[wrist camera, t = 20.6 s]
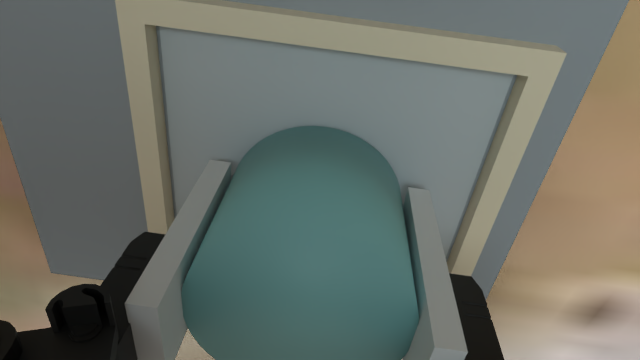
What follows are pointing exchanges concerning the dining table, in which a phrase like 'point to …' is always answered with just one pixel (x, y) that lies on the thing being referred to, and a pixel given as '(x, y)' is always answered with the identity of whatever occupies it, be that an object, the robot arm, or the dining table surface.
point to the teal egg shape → (305, 256)
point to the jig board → (288, 105)
